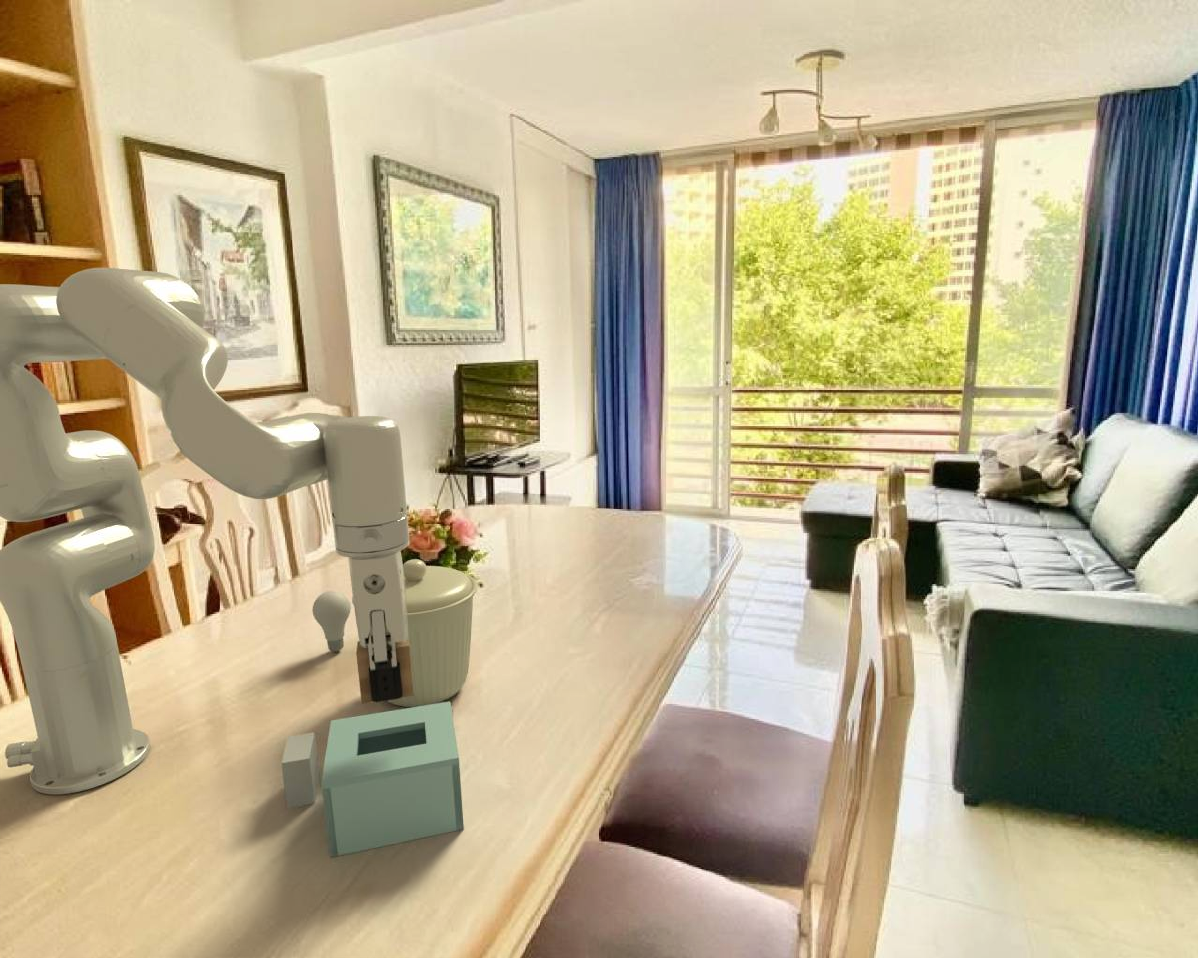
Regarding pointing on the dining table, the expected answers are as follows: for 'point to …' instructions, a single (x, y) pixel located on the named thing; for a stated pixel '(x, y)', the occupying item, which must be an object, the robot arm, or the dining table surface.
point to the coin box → (391, 778)
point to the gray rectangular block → (300, 770)
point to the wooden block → (402, 658)
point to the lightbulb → (332, 617)
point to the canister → (437, 630)
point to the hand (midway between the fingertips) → (387, 689)
